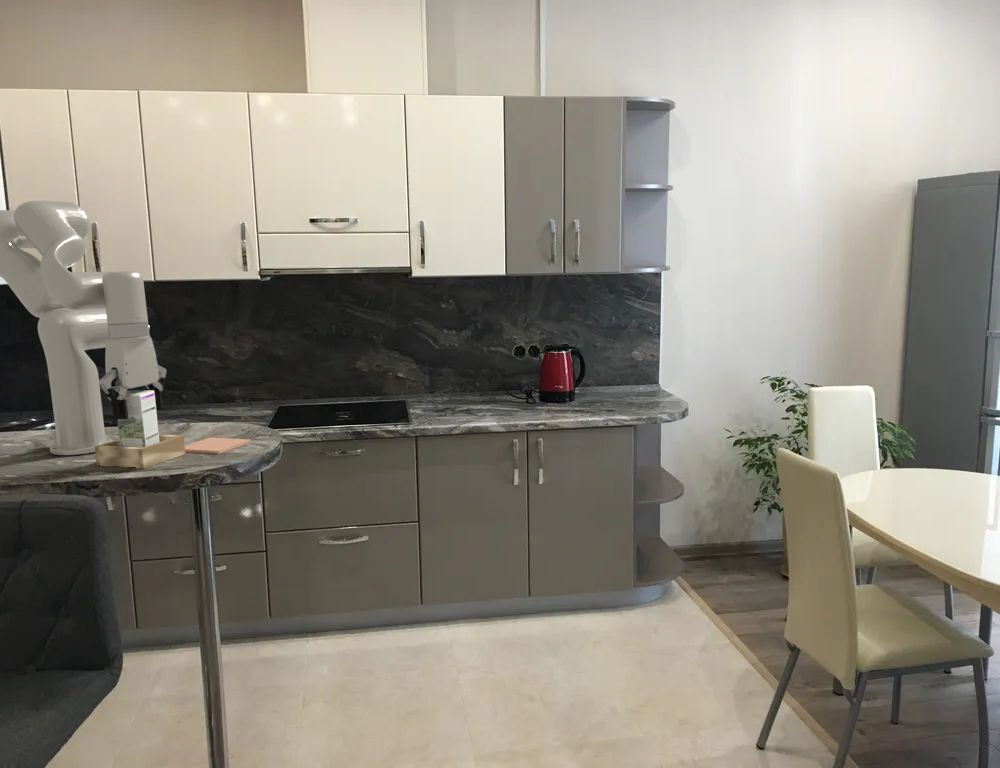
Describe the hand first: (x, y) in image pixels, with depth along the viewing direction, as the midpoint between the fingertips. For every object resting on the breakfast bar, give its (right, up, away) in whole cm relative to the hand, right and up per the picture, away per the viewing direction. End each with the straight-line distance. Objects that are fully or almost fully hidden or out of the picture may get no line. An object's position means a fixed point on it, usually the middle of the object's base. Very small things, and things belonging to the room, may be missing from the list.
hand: (138, 414), depth 159 cm
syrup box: (0, -10, +2) cm, 10 cm away
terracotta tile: (+11, -8, +12) cm, 18 cm away
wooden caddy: (0, -10, +2) cm, 10 cm away
